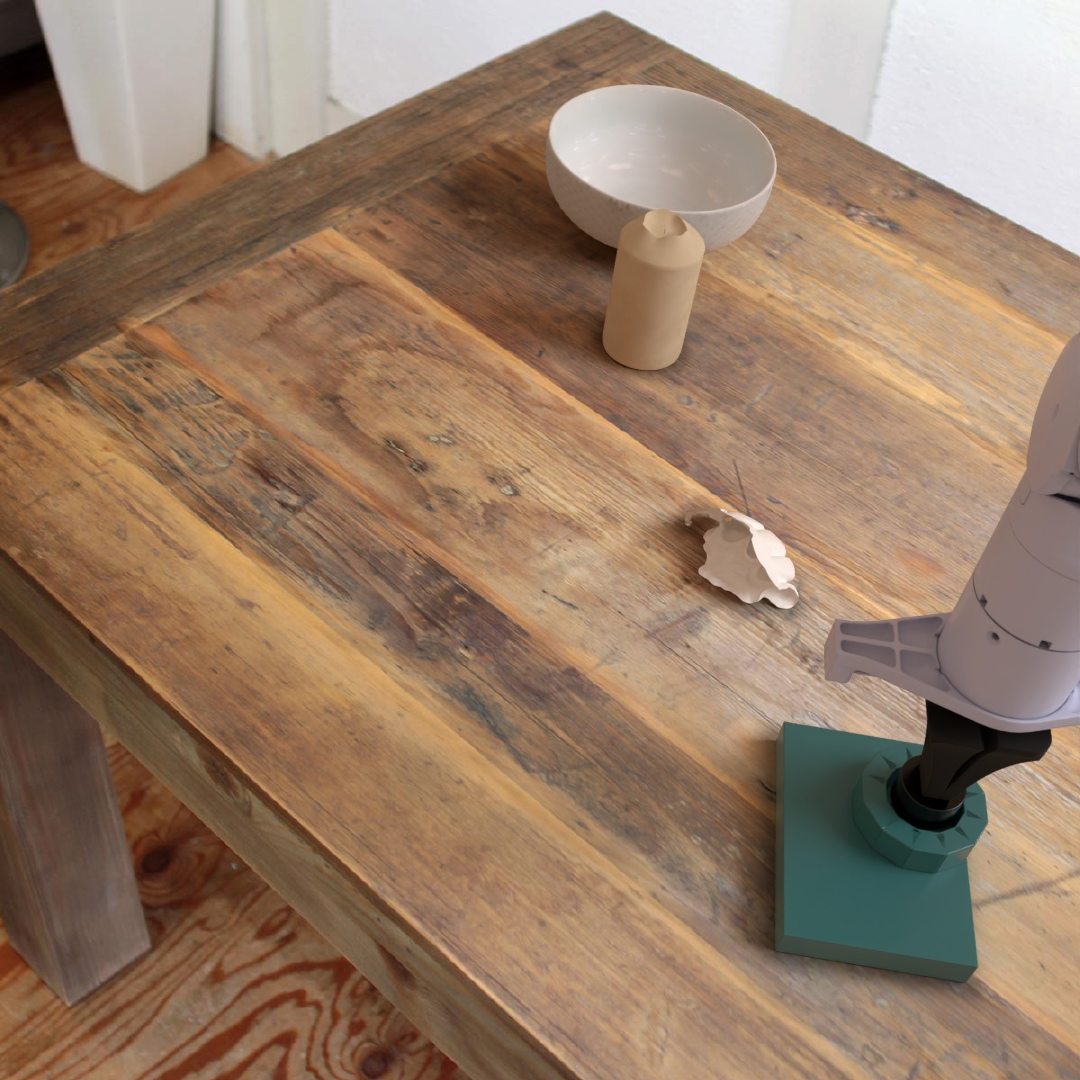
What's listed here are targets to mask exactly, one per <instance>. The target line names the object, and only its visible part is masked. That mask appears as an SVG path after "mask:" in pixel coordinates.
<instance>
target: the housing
mask: <svg viewBox="0 0 1080 1080" xmlns="http://www.w3.org/2000/svg"><path fill="white" fill-rule="evenodd" d="M775 741H776V742H775V761H776V762H775V879H774V880H775V887H774V889H775V890H774V893H775V896H774V897H775V899H774V900H775V901H774V902H775V904H774V906H775V907H774V909H775V910H774V926H775V927H774V951H775V952H780V953H786V954H792V955H796V956H803V957H804V956H805V957H810V958H816V959H822V960H826V961H827V960H828V961H832V962H839V963H844V964H845V963H846V964H851V965H857V966H862V967H869V968H875V969H880V970H886V971H892V972H899V973H905V974H911V975H917V976H922V977H928V978H934V979H940V980H946V981H952V982H957V983H965V984H966V983H968V981H969V979H970V978H971V977H972V976H973V975H974V974H975V972H976V971H977V970H978V969H979V962H978V961H979V959H978V951H977V941H976V933H975V924H974V915H973V905H972V896H971V895H972V894H971V887H970V885H971V884H970V877H969V876H970V875H969V865H968V856H969V855H970V854H971V852H972V851H973V850H974V847H975V846H976V845H977V843H978V842H979V840H980V838H981V836H982V835H983V833H984V832H985V830H986V828H987V827H988V825H989V815H988V806H987V805H988V804H987V798H986V793H985V791H984V789H983V788H982V787H981V785H980V784H979V782H978V781H977V782H975V783H974V784H972V785H971V786H969V787H968V788H967V794H966V798H965V801H964V802H963V804H962V806H961V807H960V809H959V810H958V812H957V814H956V815H955V817H954V818H953V820H952V821H951V822H950V823H949V824H948V825H947V826H945V827H943V828H940V829H936V830H925V829H921V828H918V827H915V826H913V825H911V824H909V823H908V822H906V821H905V820H904V819H903V818H902V817H901V816H900V815H899V814H898V813H897V812H896V810H895V808H894V807H893V804H892V801H891V796H890V792H891V787H892V785H893V783H894V781H895V779H896V777H897V775H898V774H899V772H900V770H901V768H902V766H903V765H904V763H905V762H906V761H907V760H908V759H910V758H912V757H914V756H917V755H921V754H922V750H923V746H924V744H923V743H917V742H916V743H915V742H910V741H903V740H898V739H893V738H892V739H891V738H886V737H881V736H875V735H874V736H873V735H867V734H862V733H856V732H850V731H844V730H839V729H832V728H826V727H819V726H815V725H814V726H813V725H808V724H800V723H796V722H792V721H791V722H790V721H783V722H782V725H781V727H780V730H779V732H778V735H777V737H776V739H775Z"/></svg>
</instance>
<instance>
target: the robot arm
mask: <svg viewBox="0 0 1080 1080" xmlns="http://www.w3.org/2000/svg"><path fill="white" fill-rule="evenodd" d="M1026 453H1027V454H1026V469H1025V471H1024V473H1023V474H1022V476H1021V478H1020V480H1019V483H1018V484H1017V486H1016V488H1015V490H1014V492H1013V494H1012V496H1011V498H1010V499H1009V502H1008V503H1007V505H1006V507H1005V509H1004V511H1003V512H1002V515H1001V517H1000V519H999V521H998V522H997V524H996V526H995V529H994V530H993V532H992V534H991V535H990V537H989V540H988V542H987V544H986V546H985V548H984V550H983V552H982V553H981V555H980V557H979V559H978V561H977V562H976V565H975V567H974V569H973V571H972V572H971V574H970V576H969V579H968V581H967V582H966V584H965V586H964V588H963V590H962V592H961V593H960V595H959V598H958V600H957V601H956V604H955V606H954V607H953V609H952V611H950V612H940V613H933V614H922V615H915V616H906V617H897V618H888V619H880V620H879V619H878V620H865V621H864V620H863V621H861V620H847V619H840V618H835V619H834V621H833V624H832V625H831V628H830V630H829V632H828V635H827V638H826V640H825V642H824V644H823V668H824V680H825V681H828V682H833V683H840V684H847V683H849V682H850V680H851V678H852V676H853V674H855V675H862V676H867V677H874V678H878V679H880V680H882V681H885V682H886V683H889V684H890V685H893V686H896V687H899V688H900V689H902V690H905V691H907V692H909V693H912V694H913V695H916V696H918V697H921V698H923V699H924V702H925V714H926V729H925V736H924V741H923V745H924V746H923V750H922V754H921V758H920V761H919V770H920V782H921V794H922V795H923V796H924V797H930V798H936V799H942V800H948V801H949V800H950V799H952V798H953V797H955V796H956V795H958V794H959V793H960V792H962V791H963V790H965V789H966V788H968V787H969V786H971V785H972V784H974V783H975V782H977V783H978V782H979V781H981V780H982V779H984V778H986V777H988V776H989V775H991V774H993V773H997V772H998V771H1001V770H1004V769H1007V768H1010V767H1012V766H1017V765H1019V764H1020V765H1021V764H1025V763H1031V762H1040V761H1041V759H1043V758H1044V756H1045V755H1046V753H1047V752H1048V751H1049V749H1050V747H1051V746H1052V743H1053V734H1052V730H1054V729H1061V728H1068V727H1074V726H1080V332H1077V333H1075V334H1074V335H1073V336H1072V337H1071V338H1070V339H1069V340H1068V341H1067V343H1066V344H1065V345H1064V347H1063V349H1062V350H1061V352H1060V353H1059V355H1058V357H1057V358H1056V361H1055V363H1054V365H1053V367H1052V369H1051V371H1050V373H1049V375H1048V378H1047V380H1046V382H1045V385H1044V387H1043V389H1042V392H1041V395H1040V398H1039V400H1038V403H1037V406H1036V409H1035V413H1034V416H1033V421H1032V425H1031V430H1030V435H1029V440H1028V446H1027V452H1026Z"/></svg>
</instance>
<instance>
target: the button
mask: <svg viewBox="0 0 1080 1080" xmlns="http://www.w3.org/2000/svg"><path fill="white" fill-rule="evenodd" d="M920 758H921V755H917V756H914V757H912V758H910V759H908V760H907V761H906V762H905V763H904V765H903V766H902V768H901V770H900V772H899V774H898V775H897V777H896V779H895V781H894V783H893V785H892V787H891V792H890V796H891V801H892V804H893V807H894V808H895V810H896V812H897V813H898V814H899V815H900V816H901V817H902V818H903V819H904V820H905V821H906V822H908V823H909V824H911V825H913V826H915V827H918V828H921V829H925V830H936V829H940V828H943V827H945V826H947V825H948V824H949V823H950V822H951V821H952V820H953V818H954V817H955V815H956V814H957V812H958V810H959V809H960V807H961V806H962V804H963V802H964V801H965V798H966V794H967V788H966V789H965V790H963V791H962V792H960V793H959V794H958V795H956V796H955V797H953V798H952V799H950V800H949V801H948V800H942V799H936V798H930V797H924V796H923V795H922V794H921V782H920V770H919V761H920Z"/></svg>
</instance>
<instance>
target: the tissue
mask: <svg viewBox="0 0 1080 1080" xmlns="http://www.w3.org/2000/svg"><path fill="white" fill-rule="evenodd" d="M682 513H683V514H684V517H685V518H684V525H685V526H686V527H690V526H692V524H693V522H692V518H693V516H694V515H699V514H702V515H708V517H709V518H710V519H712V520H715V521H716V522H718V523H719V525H717V526H714V527H712V528H710V529H707V531H706V532H704V534H703V537H702V538H703V539H704V543H703V544H702V547H703V550H704V552H705V553H706V560H705V562H704V564H703V565H701V566H700V567H699V568H698V570H697V571H698V575H699V576H701V577H703V578H704V579H707V581H709V582H710V583H711V585H712V586H715V587H720V588H721V589H723V590H724V591H728V592H731V593H732V594H733V595H735V596H737V597H738V599H740V600H741V601H742V602H743V603H747V604H754V603H757V602H760V601H761V600H762V599H763V598H766V599H768V600H769V601H770V602H771V603H772V604H773V605H774V606H776V607H777V608H780V609H784V610H789V609H791V608H793V607H795V606H796V605H797V603H798V601H799V599H800V596H799V592H798V590H797V588H796V587H795V586H794V585H793V584H792V583H790V582H792V581H794V579H795V577H796V571H795V570H796V569H795V565H794V564H793V561H792V560H791V559H790V558H789V557H788V556H786V555H787V549H786V547H785V545H784V543H783V542H782V540H781V539H779V538H778V536H777V535H775V534H774V533H773V532H772V531H771V530H769V529H766V528H765V526H764V525H763V524H762V523H761V522H759V521H758V520H756V519H754V518H753V517H751V516H748V515H745V514H743V513H739V512H736V511H729V512H728V510H727V509H724V508H715V507H705V508H704V507H703V508H702V507H701V508H700V507H699V508H689V509H685V510H684V511H681V514H682ZM728 518H729V519H731V521H726V522H725V519H728Z"/></svg>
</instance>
